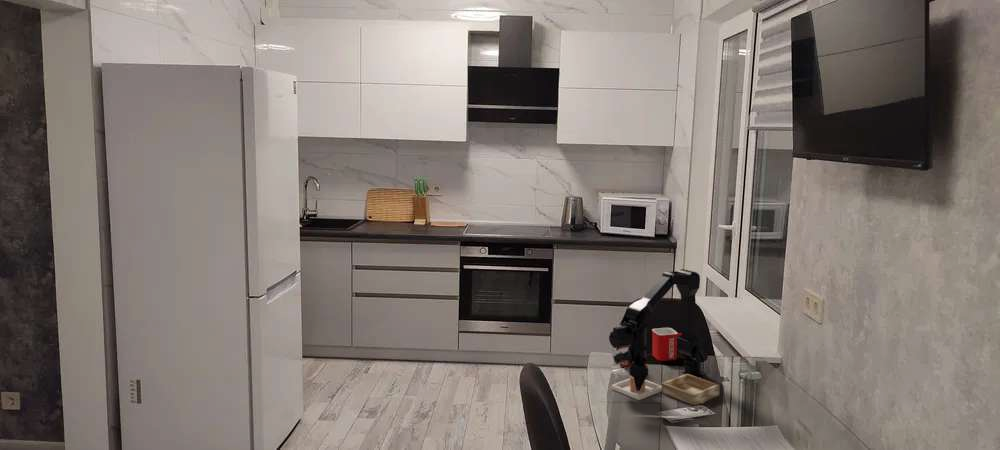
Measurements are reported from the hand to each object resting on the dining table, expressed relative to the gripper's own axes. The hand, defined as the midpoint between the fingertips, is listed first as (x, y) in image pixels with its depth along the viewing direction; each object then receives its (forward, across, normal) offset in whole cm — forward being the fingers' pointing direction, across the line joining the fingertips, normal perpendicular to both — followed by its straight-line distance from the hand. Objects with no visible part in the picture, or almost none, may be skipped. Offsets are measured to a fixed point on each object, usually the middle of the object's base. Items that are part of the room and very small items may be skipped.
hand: (637, 385), depth 239 cm
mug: (+2, -35, +14) cm, 38 cm away
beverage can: (+2, -24, -3) cm, 24 cm away
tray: (+2, 0, 0) cm, 2 cm away
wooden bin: (+2, +2, +18) cm, 18 cm away
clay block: (+2, 0, 0) cm, 2 cm away
